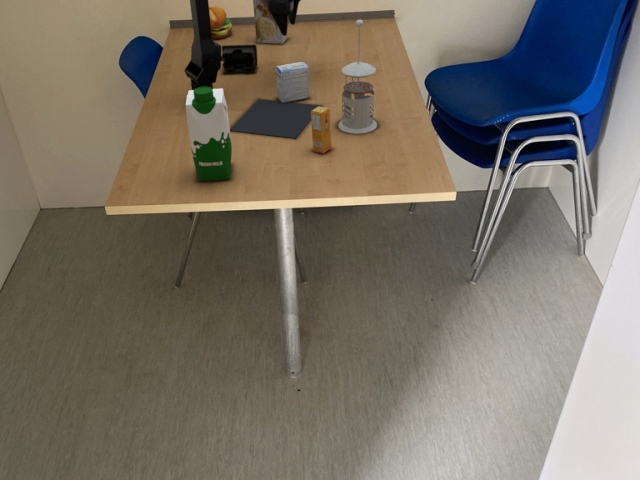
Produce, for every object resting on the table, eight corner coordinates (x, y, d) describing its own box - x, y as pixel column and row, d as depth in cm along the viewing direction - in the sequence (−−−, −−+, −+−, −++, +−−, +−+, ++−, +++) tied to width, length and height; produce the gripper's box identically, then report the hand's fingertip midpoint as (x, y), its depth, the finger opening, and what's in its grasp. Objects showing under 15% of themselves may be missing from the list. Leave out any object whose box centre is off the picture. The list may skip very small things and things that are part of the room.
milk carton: (194, 183, 152) (180, 96, 138) (197, 164, 158) (184, 79, 145) (233, 181, 151) (223, 93, 138) (234, 162, 158) (225, 76, 145)
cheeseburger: (240, 31, 229) (233, 2, 221) (223, 48, 224) (215, 20, 216) (216, 27, 233) (208, -2, 225) (198, 44, 228) (190, 15, 220)
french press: (345, 136, 166) (346, 29, 149) (330, 117, 174) (329, 14, 158) (383, 129, 167) (387, 23, 151) (366, 111, 176) (369, 8, 159)
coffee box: (288, 37, 222) (285, -16, 211) (282, 44, 217) (279, -10, 207) (261, 36, 224) (258, -17, 214) (255, 43, 220) (251, -11, 209)
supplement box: (320, 145, 163) (319, 105, 156) (331, 149, 161) (331, 108, 154) (311, 150, 161) (310, 110, 154) (323, 154, 159) (322, 113, 152)
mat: (295, 138, 166) (295, 137, 166) (229, 130, 171) (228, 130, 171) (321, 106, 180) (321, 105, 180) (258, 99, 185) (258, 99, 185)
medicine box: (303, 93, 187) (302, 61, 181) (309, 98, 184) (309, 66, 178) (276, 98, 185) (275, 65, 179) (282, 103, 182) (281, 70, 176)
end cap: (258, 64, 205) (256, 41, 201) (256, 73, 200) (254, 49, 195) (225, 65, 206) (223, 42, 201) (222, 74, 201) (219, 50, 196)
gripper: (307, -23, 167) (309, 42, 178) (323, -42, 181) (324, 19, 191) (264, -24, 170) (269, 41, 180) (283, -43, 183) (286, 18, 194)
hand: (288, 29), depth 186 cm, fingers open, 9 cm apart
